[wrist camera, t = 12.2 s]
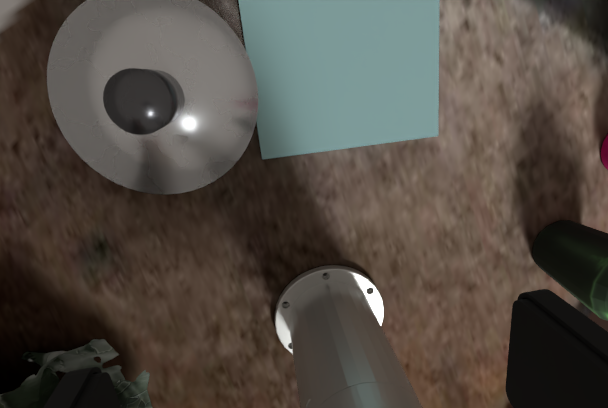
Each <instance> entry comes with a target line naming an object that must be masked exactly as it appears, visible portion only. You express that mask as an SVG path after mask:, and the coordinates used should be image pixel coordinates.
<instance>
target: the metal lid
mask: <svg viewBox="0 0 608 408" xmlns="http://www.w3.org/2000/svg"><path fill="white" fill-rule="evenodd" d="M47 88H48V96H49V100H50V104H51V108H52V112H53V114H54V117H55V119H56V122H57V124H58V126H59V128H60V130H61V132H62V134H63V135H64V137H65V139H66V140H67V141H68V143H69V144H70V146H71V147H72V148H73V150H74V151H75V152H76V153H77V154H78V155H79V156H80V157H81V159H82V160H84V161H85V162H86V163H87V164H88V165H89V166H90V167H91V168H93V169H94V170H95V171H97V172H98V173H100V174H101V175H102V176H104V177H106V178H107V179H109V180H111V181H113V182H115V183H117V184H119V185H122V186H124V187H126V188H129V189H133V190H136V191H140V192H145V193H151V194H179V193H184V192H189V191H193V190H196V189H199V188H201V187H204V186H206V185H208V184H210V183H212V182H214V181H215V180H217V179H218V178H220V177H221V176H223V175H224V174H225V173H226V172H227V171H229V170H230V169H231V168H232V167H233V166H234V165H235V163H236V162H237V161H238V160H239V159H240V157H241V156H242V154H243V153H244V151H245V150H246V148H247V146H248V144H249V142H250V140H251V138H252V135H253V132H254V128H255V125H256V120H257V114H258V88H257V82H256V77H255V73H254V70H253V67H252V64H251V61H250V58H249V56H248V54H247V52H246V50H245V48H244V46H243V44H242V43H241V41H240V40H239V38H238V37H237V35H236V34H235V32H234V31H233V30H232V29H231V28H230V26H229V25H228V24H227V23H226V22H225V21H224V20H223V19H222V18H221V17H220V16H219V15H218V14H217V13H216V12H215V11H213V10H212V9H210V8H209V7H208V6H206V5H205V4H204V3H202V2H200V1H199V0H86V1H85V2H83V3H82V4H81V5H79V6H78V7H77V8H76V9H75V10H74V11H73V12H72V13H71V14H70V15H69V16H68V17H67V19H66V20H65V22H64V23H63V24H62V26H61V27H60V29H59V31H58V33H57V35H56V37H55V39H54V41H53V44H52V48H51V51H50V54H49V60H48V66H47Z"/></svg>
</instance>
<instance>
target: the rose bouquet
mask: <svg viewBox="0 0 608 408" xmlns="http://www.w3.org/2000/svg"><path fill="white" fill-rule="evenodd" d="M28 353H31V354H28ZM26 354H27V355H26ZM117 355H119V354H118V353H116V351H115V352H114V348H113V347H111V346H110V345H109V344H108V343H107V342H106V340H105V339H101V340H98V339H93V340H92V341H91V342H90V343H88V344H86V345H85V346H82V347H79V348H76V349H73V350H70V351H68V352H67V351H55V352H50V353H37V352H28V351H27V352H25V353H24V354H23V356H22V359H24V360H27V361H29V362H34V363H37V364H39V365H40V366H41V368H40V370H39V371H38V374H37V375H36V376H35V374H33V375H31V376H29V377H28V378H27V379H25V381H24V382H23V383H22V384H21V387H19V388H17V389H15V390H14V391H11V392H8V393H4V394H0V408H43V407H44V406H45V404H46V403H47V401H48V399H49V398H50V396H51V395H52V393H53V392H54V390H55V388H56V387H57V385H58V383H59V378H58V376H57V375H56V371H62V372H66V373H67V372H69V371H73V370H79V369H85V368H91V367H98V368H100V369H101V371H102V373H103V372H107V373H108V374H109V375H110V377H111V380H112V383H113V385H114V388H115V391H116V394H117V397H118V400H119V403H120V405H121V408H152V405H151V402H150V398H149V395H148V391H147V385H148V380H149V375H150V374H149V373H146V371H143V372H142V373H141V374H140V375H139V376H138V377H137V379H136V381H134V382H130V381H127V380H125V378H124V376H123V374H122V373H121V371H120V369H121V366H119V365H116V366H112V367H108V368H105V369H104V368H103V367H102V365H103V363H105V362H106V361H109V360H111V359H113V358H115V357H116V356H117ZM97 356H99V357H101V363H97V362H96V361H94V358H93V357H97Z"/></svg>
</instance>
